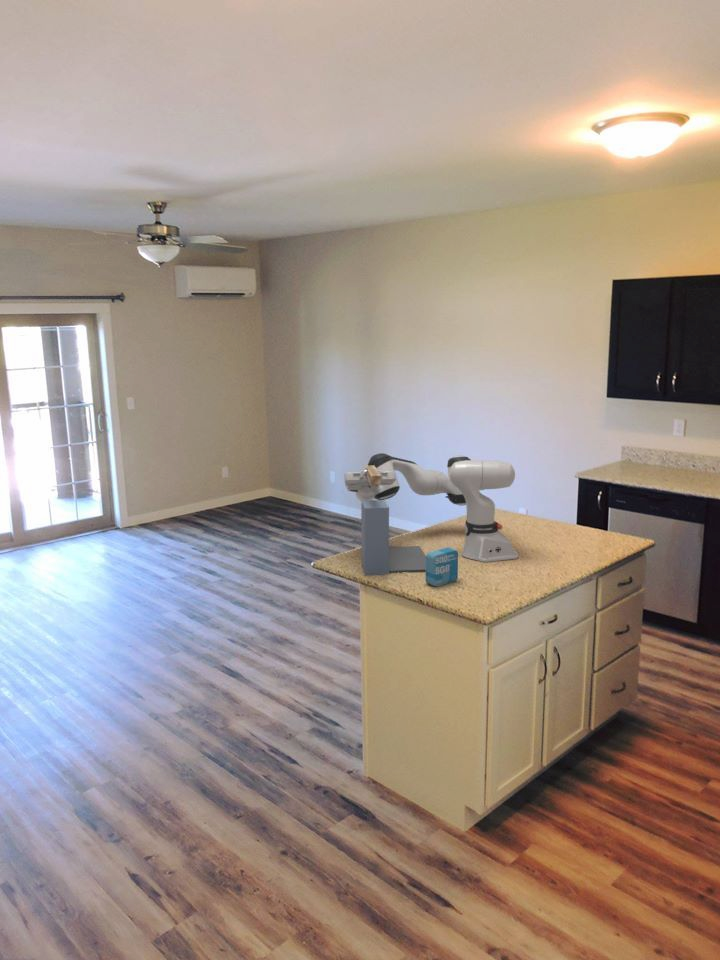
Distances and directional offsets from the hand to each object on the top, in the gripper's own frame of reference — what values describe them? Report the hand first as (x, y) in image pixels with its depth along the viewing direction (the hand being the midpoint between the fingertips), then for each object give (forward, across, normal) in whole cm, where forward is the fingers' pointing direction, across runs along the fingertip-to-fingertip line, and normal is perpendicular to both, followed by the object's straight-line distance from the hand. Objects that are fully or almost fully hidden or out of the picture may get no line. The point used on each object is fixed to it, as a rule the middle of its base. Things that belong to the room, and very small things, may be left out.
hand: (371, 472), depth 287 cm
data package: (+2, -23, -44) cm, 50 cm away
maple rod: (+2, 0, -4) cm, 4 cm away
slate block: (-12, 0, -36) cm, 38 cm away
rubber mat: (-21, -14, -30) cm, 39 cm away
